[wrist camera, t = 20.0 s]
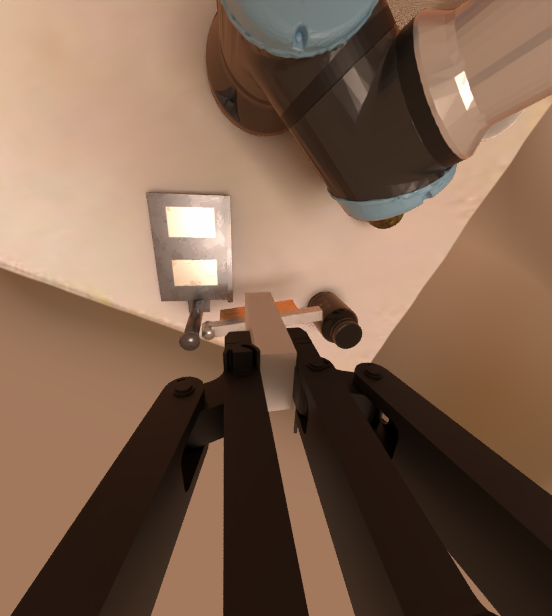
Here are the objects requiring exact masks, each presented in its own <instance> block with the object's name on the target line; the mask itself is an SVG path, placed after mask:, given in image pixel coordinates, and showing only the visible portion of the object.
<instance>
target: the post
mask: <svg viewBox="0 0 552 616" xmlns="http://www.w3.org/2000/svg"><path fill="white" fill-rule="evenodd" d="M188 304H189V313H190V315H189V318H188V321H187V325H186V328H185V332H184V333H183V334H182V335H181V337H180V341H179V343H180V346H181V347H182V348H183V349H185V350H189V351H190V350H195V349H196V348H198V346H199V344H200V337H199V331H200V326H201V321H202V315H203V312H210V303H209V300H192V301H188Z"/></svg>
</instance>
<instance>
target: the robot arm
mask: <svg viewBox="0 0 552 616" xmlns="http://www.w3.org/2000/svg"><path fill="white" fill-rule="evenodd" d="M395 23H396V22H395V20H394V18H393V15H392V13H391V10H390V8H389V6H388V3H387V1H386V0H217V13H216V15H215V17H214V19H213V21H212V24H211V26H210V30H209V34H208V38H207V45H206V65H207V73H208V79H209V83H210V87H211V90H212V93H213V95H214V98H215V100H216V102H217V104H218V106H219V107H220V109H221V110H222V112H223V113H224V114H225V116H226V117H227V118H228V119H229V120H230V121H231V122H232V123H233V124H234V125H236V126H237V127H238V128H240V129H242V130H243V131H245V132H247V133H250V134H253V135H257V136H273V135H277V134H280V133H282V132H284V131H286V130H289V132H290V133H291V135H292V136H293V138H294V139H295V140H296V142H297V143H298V145H299V146H300V148H301V149H302V151H303V152H304V154H305V155H306V157H307V158H308V159H309V161H310V162H311V164H312V165H313V167H314V168H315V170H316V171H317V173H318V174H319V175H320V177H321V178H322V180H323V181H324V183H325V184H326V186H327V190H328V192H329V194H330V195H331V196H332V197H333V198H334V199H335V200H337V201H338V203H339V204H340V205H341V207H342V208H343V209H344V211H345V212H346V213H347V214H348V215H349V216H351V217H353V218H355V219H357V220H361V221H377V220H383V219H387V218H391V217H394V216H397V215H400V214H403V213H405V212H408V211H410V210H412V209H414V208H416V207H418V206H420V205H421V204H422V203H423V200H424V199H427V198H432V197H434V196H435V195H437V194H438V193H439V192H440V191H442V190H443V189H444V188H445V187H446V186H447V184H448V183H449V182H450V181H451V180H452V178H453V176H454V174H455V172H456V166H457V163H459V162H461V161H463V160H465V159H467V158H469V157H471V156H472V155H473V154H474V152H475V150H476V149H477V147H478V145H479V143H480V142H481V140H482V138H483V137H484V135H485V133H486V132H487V131H488V130H489V129H490V127H491V126H492V125H494V124H496V123H498V122H500V121H502V120H504V119H506V118H508V117H509V116H511V115H513V114H515V113H517V112H519V111H521V110H523V109H525V108H527V107H528V106H530V105H532V104H534V103H536V102H538V101H540V100H542V99H544V98H546V97H548V96H549V95H551V94H552V0H466V1H465V2H464V3H463V4H462V5H461V6H459V7H457V8H455V9H453V10H451V11H448V10H435V9H424V10H422V11H421V12H419V13H418V14H417V15H416V16H415V17H414V18H413V19H412V20H411V21H410V22H409V23H408V24H407V25H406V26H405V27H404V28H403V29H402V30H399V28H398V27H397V25H396V24H395ZM394 24H395V25H394ZM223 362H224V372H223V374H222V375H221V376H220V377H218V378H217V379H215V380H213V381H210V382H207V383H204V384H203V382H202V381H201V380H200V379H198V378H194V377H182V378H178V379H175V380H173V381H172V382H170V383H168V385H166V386H165V388H164V389H163V390H162V392H161V393H160V395H159V396H158V398H157V399H156V401H155V402H154V404H153V405H152V407H151V408H150V410H149V411H148V413H147V414H146V416H145V417H144V418H143V420H142V421H141V423H140V424H139V426H138V427H137V429H136V430H135V432H134V433H133V435H132V436H131V438H130V439H129V441H128V442H127V444H126V445H125V447H124V448H123V450H122V451H121V453H120V454H119V456H118V457H117V459H116V460H115V461H114V463H113V464H112V466H111V467H110V469H109V470H108V472H107V473H106V475H105V476H104V478H103V479H102V481H101V482H100V484H99V485H98V487H97V488H96V490H95V491H94V493H93V494H92V496H91V497H90V499H89V500H88V502H87V503H86V505H85V506H84V508H83V509H82V510H81V512H80V513H79V515H78V516H77V518H76V520H75V521H74V522H73V524H72V525H71V527H70V528H69V530H68V531H67V533H66V534H65V536H64V537H63V539H62V540H61V542H60V543H59V545H58V546H57V547H56V549H55V550H54V552H53V553H52V555H51V556H50V558H49V559H48V561H47V563H46V564H45V565H44V567H43V568H42V570H41V571H40V573H39V574H38V576H37V577H36V579H35V580H34V582H33V583H32V585H31V586H30V588H29V589H28V591H27V592H26V593H25V595H24V597H23V598H22V599H21V601H20V602H19V604H18V605H17V607H16V608H15V610H14V611H13V613H12V614H11V616H151V613H152V610H153V607H154V605H155V602H156V599H157V596H158V593H159V590H160V587H161V584H162V581H163V578H164V575H165V572H166V569H167V567H168V564H169V561H170V557H171V555H172V552H173V549H174V546H175V543H176V540H177V537H178V534H179V531H180V528H181V526H182V523H183V520H184V517H185V514H186V511H187V508H188V505H189V502H190V499H191V496H192V493H193V491H194V488H195V485H196V482H197V479H198V476H199V473H200V470H201V467H202V464H203V461H204V458H205V456H206V453H207V450H208V445H209V443H211V442H213V441H216V440H218V439H221V438H223V437H224V571H223V576H224V577H223V578H224V579H223V582H224V583H223V585H224V586H223V596H224V597H223V616H309V614H308V609H307V604H306V599H305V594H304V589H303V584H302V579H301V573H300V569H299V563H298V558H297V554H296V548H295V544H294V538H293V533H292V528H291V523H290V519H289V514H288V508H287V503H286V498H285V493H284V488H283V483H282V478H281V473H280V468H279V463H278V458H277V453H276V448H275V443H274V438H273V432H272V427H271V423H270V417H269V412H268V411H278V410H287V409H292V407H293V400H294V403H295V406H296V411H295V422H294V433H297V427H298V429H299V432H300V436H301V439H302V442H303V446H304V449H305V452H306V455H307V459H308V462H309V465H310V468H311V472H312V475H313V478H314V482H315V485H316V488H317V492H318V495H319V498H320V502H321V505H322V508H323V511H324V515H325V518H326V521H327V525H328V528H329V531H330V535H331V538H332V541H333V544H334V548H335V551H336V554H337V558H338V561H339V564H340V567H341V571H342V574H343V577H344V581H345V584H346V587H347V591H348V594H349V597H350V600H351V604H352V607H353V610H354V614H355V616H497V615H495V614H494V613H492V612H490V611H488V610H487V609H486V608H485V607H484V606H483V605H482V604H481V603H480V602H479V600H478V599H477V598H476V596H475V595H474V593H473V592H472V590H471V589H470V587H469V585H468V584H467V582H466V580H465V579H464V577H463V576H462V574H461V572H460V571H459V569H458V568H457V566H456V564H455V563H454V561H453V559H452V558H451V556H452V557H453V558H454V559H455V560H456V561H457V563H458V564H459V565H460V567H461V568H462V569H463V570H464V571H465V573H466V574H467V575H468V576H469V577H470V579H471V580H472V581H473V582H474V584H475V585H476V586H477V587H478V588H479V589H480V591H481V592H482V593H483V594H484V596H485V597H486V598H487V599H488V601H489V602H490V603H491V604H492V605H493V607H494V608H495V609H496V610H497V611H498V613H499V614H500V615H501V616H552V495H550V494H549V493H548V492H546V491H545V490H543V489H542V488H541V487H540V486H538V485H537V484H536V483H535V482H533V481H532V480H530V479H529V478H528V477H527V476H525V475H524V474H523V473H521V472H520V471H519V470H517V469H516V468H515V467H514V466H512V465H511V464H510V463H508V462H507V461H506V460H504V459H503V458H502V457H501V456H499V455H498V454H497V453H495V452H494V451H492V450H491V449H490V448H489V447H487V446H486V445H485V444H483V443H482V442H481V441H480V440H478V439H477V438H476V437H474V436H473V435H472V434H470V433H469V432H468V431H466V430H465V429H464V428H463V427H461V426H460V425H459V424H457V423H456V422H455V421H453V420H452V419H451V418H450V417H448V416H447V415H446V414H444V413H443V412H442V411H440V410H439V409H438V408H436V407H435V406H434V405H432V404H431V403H430V402H429V401H427V400H426V399H425V398H423V397H422V396H421V395H419V394H418V393H417V392H416V391H414V390H413V389H412V388H410V387H409V386H408V385H406V384H405V383H404V382H402V381H401V380H400V379H399V378H397V377H396V376H395V375H393V374H392V373H391V372H389V371H388V370H387V369H385V368H383V367H382V366H379V365H377V364H374V363H361V364H359V365H357V366H356V368H355V371H354V372H348V371H341V370H337V369H335V367H334V366H333V364H332V363H331V362H330V361H329V360H327V359H325V358H322V357H320V355H319V353H318V352H317V350H316V348H315V346H314V345H313V344H312V341H311V339H310V338H309V336H308V334H307V333H306V332H305V331H304V330H302V329H301V328H286V327H285V325H284V322H283V320H282V318H281V316H280V313H279V311H278V309H277V306H276V304H275V302H274V300H273V297H272V295H271V293H270V292H259V293H245V331H231V332H228V334H227V335H226V336H225V350H224V352H223ZM383 413H384V414H385V415H386V416H387V417H388V418H389V422H386V421H385V420H384V419H383V418H382V414H383ZM446 549H447V550H446ZM448 552H449V553H450V554H451V556H450V554H449V553H448Z"/></svg>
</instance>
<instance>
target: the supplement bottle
mask: <svg viewBox="0 0 552 616" xmlns="http://www.w3.org/2000/svg"><path fill="white" fill-rule="evenodd" d="M314 306H319V307H320V308H321V310H322V320H321V321H315V322H313V323H314V324H315V326H316V327H317V329H318V330H319V332H320V333H321V334H322V336H323V337H324V338H325V339H326V340H327V341H329V342H332V343H335V344H336V345H337V346H338V347H340V348H342V349H348V348H351V347H354V346H355V345H356V344H358V342H359V341H360V340H361V338H362V329H361V327H360V326H359V325H358V319H357V316H356V314H355V313H354V312H353V311H352V310H351V309H350V308H349V307H348V306H347V305H346V304H345V303H344V302H342V301H341V300H340V299H339V298H338V297H337V296H336V295H334V294H332V293H329V292H324V293H320V294H318V295H316V296H315V297H314V298H313V299H312V300H311V301H310V303H309V306H308V307H314Z"/></svg>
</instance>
